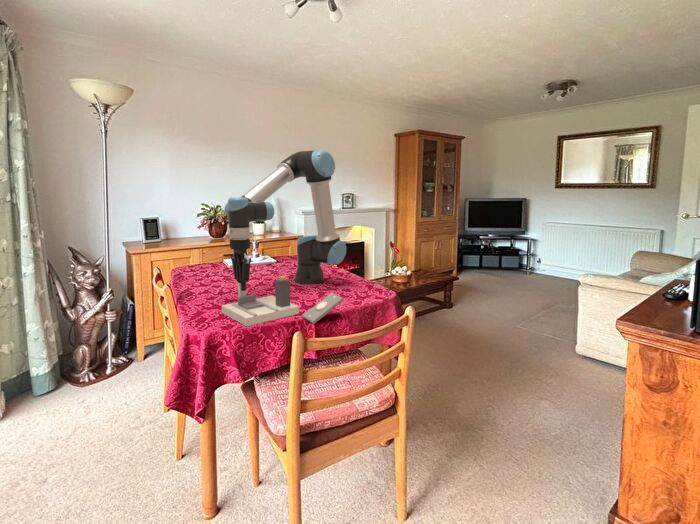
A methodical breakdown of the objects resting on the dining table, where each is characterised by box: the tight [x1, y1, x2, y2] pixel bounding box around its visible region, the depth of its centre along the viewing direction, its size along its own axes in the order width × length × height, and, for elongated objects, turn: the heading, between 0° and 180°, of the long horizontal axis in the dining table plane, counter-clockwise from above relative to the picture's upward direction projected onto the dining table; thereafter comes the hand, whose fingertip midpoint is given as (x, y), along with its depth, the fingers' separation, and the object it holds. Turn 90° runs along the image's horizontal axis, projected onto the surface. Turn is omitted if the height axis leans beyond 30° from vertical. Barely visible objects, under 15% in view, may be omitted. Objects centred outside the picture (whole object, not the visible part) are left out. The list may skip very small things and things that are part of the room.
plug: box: [274, 275, 291, 307], centre depth 155 cm, size 4×4×11 cm
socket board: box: [221, 295, 300, 327], centre depth 155 cm, size 20×22×4 cm
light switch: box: [302, 292, 345, 325], centre depth 150 cm, size 8×6×14 cm
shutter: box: [237, 294, 263, 310], centre depth 154 cm, size 7×7×3 cm
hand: (242, 298), depth 159 cm, fingers closed
